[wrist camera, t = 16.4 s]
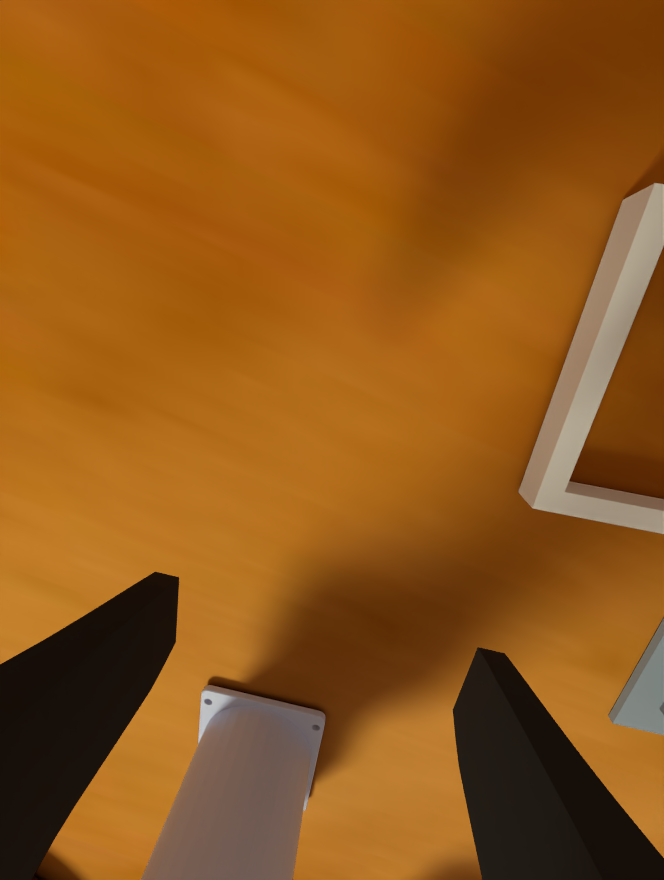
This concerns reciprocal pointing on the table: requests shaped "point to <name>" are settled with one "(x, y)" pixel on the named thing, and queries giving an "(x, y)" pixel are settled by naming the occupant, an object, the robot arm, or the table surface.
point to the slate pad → (644, 691)
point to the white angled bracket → (599, 374)
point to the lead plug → (662, 708)
